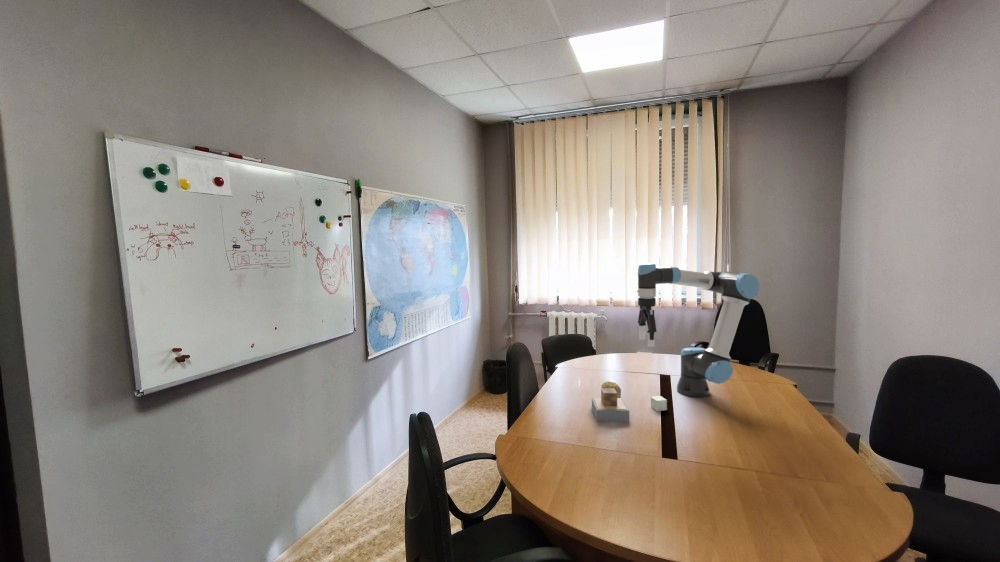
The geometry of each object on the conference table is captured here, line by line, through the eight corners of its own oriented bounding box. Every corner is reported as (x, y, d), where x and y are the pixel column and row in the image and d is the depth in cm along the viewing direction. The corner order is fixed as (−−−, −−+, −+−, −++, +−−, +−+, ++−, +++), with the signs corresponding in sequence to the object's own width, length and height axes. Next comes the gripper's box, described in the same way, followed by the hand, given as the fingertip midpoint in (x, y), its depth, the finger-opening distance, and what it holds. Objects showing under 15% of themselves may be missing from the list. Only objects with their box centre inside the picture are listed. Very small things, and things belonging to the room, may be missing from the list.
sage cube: (660, 405, 185) (660, 395, 185) (666, 410, 180) (666, 399, 180) (650, 407, 184) (650, 396, 184) (656, 411, 180) (656, 400, 179)
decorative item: (620, 403, 199) (617, 384, 204) (624, 398, 191) (621, 378, 196) (601, 403, 200) (599, 384, 205) (604, 398, 191) (601, 378, 197)
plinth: (621, 408, 184) (621, 397, 183) (629, 421, 170) (629, 409, 169) (591, 408, 185) (591, 397, 184) (596, 421, 171) (596, 409, 171)
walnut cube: (614, 400, 180) (614, 388, 179) (617, 406, 174) (617, 393, 173) (601, 400, 180) (601, 388, 180) (603, 406, 174) (603, 393, 174)
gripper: (631, 294, 190) (631, 336, 192) (646, 301, 165) (646, 350, 167) (647, 293, 189) (646, 336, 191) (664, 301, 165) (664, 349, 166)
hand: (646, 342), depth 179 cm, fingers open, 13 cm apart
